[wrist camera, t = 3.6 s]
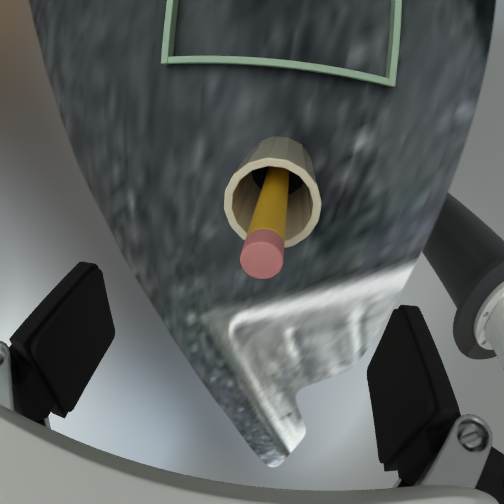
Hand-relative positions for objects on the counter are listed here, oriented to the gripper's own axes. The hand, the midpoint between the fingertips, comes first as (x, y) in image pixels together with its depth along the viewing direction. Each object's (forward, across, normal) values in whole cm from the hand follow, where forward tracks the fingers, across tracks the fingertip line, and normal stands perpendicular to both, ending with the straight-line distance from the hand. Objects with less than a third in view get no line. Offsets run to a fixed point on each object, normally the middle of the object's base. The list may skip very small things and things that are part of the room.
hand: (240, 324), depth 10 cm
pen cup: (+21, 0, 0) cm, 21 cm away
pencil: (+20, 0, 0) cm, 20 cm away
